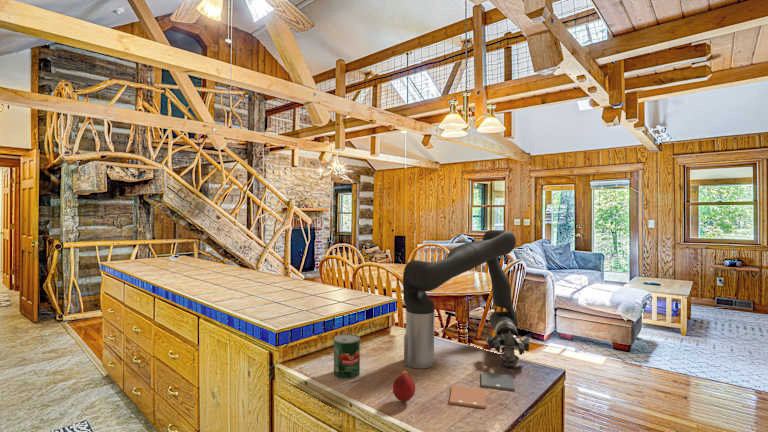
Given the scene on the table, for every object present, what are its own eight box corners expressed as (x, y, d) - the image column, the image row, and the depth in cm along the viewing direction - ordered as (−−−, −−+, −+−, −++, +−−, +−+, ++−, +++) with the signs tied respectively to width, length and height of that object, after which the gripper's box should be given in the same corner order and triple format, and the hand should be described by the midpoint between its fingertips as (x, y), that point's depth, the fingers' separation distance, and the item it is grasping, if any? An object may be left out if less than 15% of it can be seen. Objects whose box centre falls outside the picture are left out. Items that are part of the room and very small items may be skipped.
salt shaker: (520, 373, 118) (520, 334, 117) (500, 371, 119) (500, 332, 119) (517, 365, 123) (518, 328, 123) (498, 363, 125) (499, 327, 124)
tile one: (481, 386, 108) (481, 384, 108) (481, 373, 117) (481, 371, 117) (514, 390, 106) (514, 388, 106) (512, 377, 115) (512, 375, 115)
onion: (408, 410, 95) (408, 378, 95) (388, 404, 98) (388, 373, 98) (418, 400, 100) (419, 370, 100) (399, 394, 103) (400, 365, 103)
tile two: (449, 403, 99) (449, 401, 99) (452, 387, 107) (452, 385, 107) (485, 408, 96) (485, 406, 96) (485, 392, 105) (485, 389, 105)
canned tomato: (345, 366, 121) (345, 332, 121) (365, 373, 116) (365, 337, 116) (328, 375, 115) (328, 338, 114) (348, 382, 110) (348, 344, 110)
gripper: (485, 321, 137) (486, 336, 120) (528, 324, 133) (534, 340, 117) (485, 342, 137) (485, 360, 120) (527, 346, 133) (534, 365, 117)
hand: (509, 350), depth 119 cm, fingers open, 6 cm apart
